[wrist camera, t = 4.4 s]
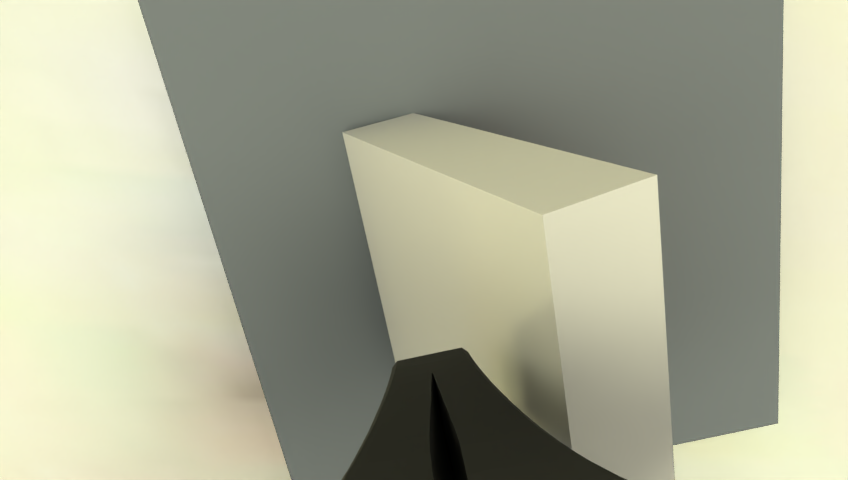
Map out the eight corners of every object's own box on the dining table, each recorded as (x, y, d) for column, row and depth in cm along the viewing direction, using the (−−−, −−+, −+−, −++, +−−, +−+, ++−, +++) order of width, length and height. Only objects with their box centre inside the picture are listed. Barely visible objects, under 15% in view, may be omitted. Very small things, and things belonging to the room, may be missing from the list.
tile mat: (764, 409, 23) (778, 423, 22) (307, 504, 23) (305, 522, 22) (766, -147, 17) (785, -153, 16) (140, -24, 17) (130, -24, 16)
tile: (470, 366, 21) (692, 569, 13) (402, 394, 20) (594, 628, 12) (423, 110, 18) (672, 169, 10) (342, 132, 17) (542, 215, 9)
